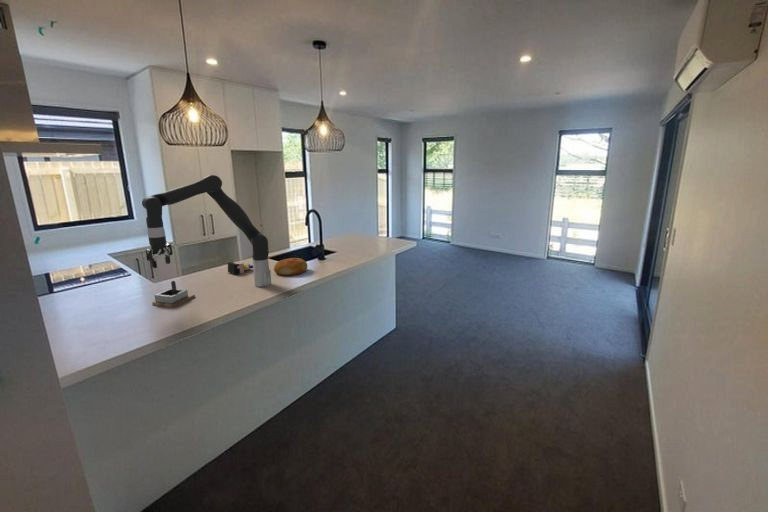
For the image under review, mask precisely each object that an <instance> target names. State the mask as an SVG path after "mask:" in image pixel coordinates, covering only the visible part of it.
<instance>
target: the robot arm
mask: <svg viewBox="0 0 768 512" xmlns="http://www.w3.org/2000/svg"><path fill="white" fill-rule="evenodd" d="M222 186H223V181H222V178H220V177H219V176H218V175H215V174H209V175H206V176H204V177H203V178H202V179H200V180H198V181H196V182H193V183H191V184H187V185H186V184H185V185H183V186H179V187H176V188H172V189H169V190H166V191H164V192H163V191H162V192H161V193H156V194H152V195H148V196H146V197H144V198H143V199H142V200H141V201H142V202H141V206H142V207H143V208H144V209H145V210H146V219H145V221H146V222H145V223H146V229H147V238H148V242H149V246H150V248H146V249H145V254H146V255H145V256H146V257H145V258H146V260H147V262H148V261H149V262H150V263H151V267H152V269H157V268H158V263H157V258H159V256H162V255H164V261H165V264H166V265H169V264H171V258H170V257H171V256H172V255H173V248H172V247H173V246H172V243H167V235H166V231H165V227H164V221H163V207H165V206H170V205H175V204H178V203H181V202H183V201H185V200H188V199H191V198H192V197H195V196H198V195H201V194H205V193H206V194H208V196H210V198H211V199H213V200H214V201H215V203H216V204H217V206H219V208H220V209H221V210H222V211H223V212H224V214H225V215H226V216H227V218H228V219H230V221H231V222H232V223H233V224H234V225H235V226H236V227H237V228H238V229H239V230H240V231H242V233H243V234H244V235H245V237H246V239H248V241H249V243H250V244H251V246H252V265H253V268H252V269H253V277H254V278H253V279H254V286H255V287H258V288H263V287H265V288H266V287H269V286H271V284H272V275H271V274H272V273H271V269H270V265H269V251H270V250H269V241H268V238H267V236H266V235H264V234H263V233H262V232H261V231H259V230H258V229H257V227H256V226H255V225H254V224H253V223H252V221H251V219H250V218H249V215H248V214H247V213H246V212H245V211H244V209H243V208H242V207H241V206H240V205H239V204H238V203H237V202H236V201H235V200H234V199H233V198H231V197H230V196H228V195H227V194H226V193H225V192H224V190H223V189H222Z"/></svg>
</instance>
